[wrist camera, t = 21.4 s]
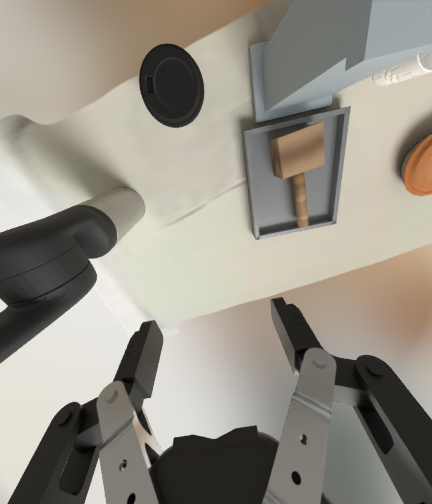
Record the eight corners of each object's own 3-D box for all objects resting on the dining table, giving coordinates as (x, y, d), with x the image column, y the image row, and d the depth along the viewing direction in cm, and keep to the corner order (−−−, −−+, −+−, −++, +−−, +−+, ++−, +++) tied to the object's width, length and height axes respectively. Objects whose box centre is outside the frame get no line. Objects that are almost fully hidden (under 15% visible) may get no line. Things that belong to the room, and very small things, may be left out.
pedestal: (327, 106, 40) (617, -2, 12) (255, 123, 41) (363, 60, 13) (333, 27, 34) (921, -548, 6) (249, 48, 35) (423, -369, 7)
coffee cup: (150, 94, 37) (120, 63, 24) (190, 67, 36) (182, 19, 23) (175, 142, 42) (160, 138, 29) (212, 120, 40) (215, 105, 27)
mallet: (314, 216, 51) (326, 223, 46) (282, 226, 52) (291, 234, 47) (308, 125, 41) (323, 121, 35) (268, 140, 42) (277, 138, 36)
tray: (329, 220, 53) (335, 223, 50) (253, 235, 54) (256, 239, 51) (341, 109, 40) (350, 106, 38) (242, 132, 41) (244, 130, 39)
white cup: (372, 42, 35) (426, 6, 27) (414, 31, 35) (484, -10, 26) (365, 94, 39) (411, 77, 30) (403, 84, 39) (461, 64, 30)
